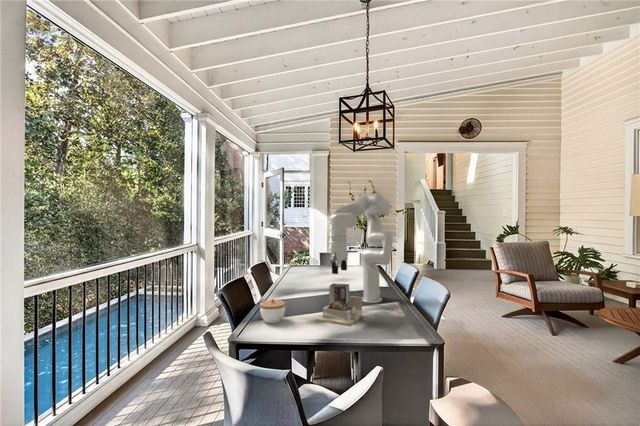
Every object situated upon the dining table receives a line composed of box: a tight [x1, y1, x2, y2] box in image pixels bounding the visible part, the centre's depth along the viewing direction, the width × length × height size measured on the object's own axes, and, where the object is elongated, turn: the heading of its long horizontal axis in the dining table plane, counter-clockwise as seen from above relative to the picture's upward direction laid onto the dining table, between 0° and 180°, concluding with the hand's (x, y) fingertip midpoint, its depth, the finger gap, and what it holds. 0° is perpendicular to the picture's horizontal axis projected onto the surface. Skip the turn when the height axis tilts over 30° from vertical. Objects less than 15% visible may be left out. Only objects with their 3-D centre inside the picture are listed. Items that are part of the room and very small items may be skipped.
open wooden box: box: [315, 295, 363, 327], centre depth 184 cm, size 16×18×10 cm
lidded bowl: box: [259, 298, 286, 324], centre depth 180 cm, size 13×13×11 cm
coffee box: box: [328, 283, 350, 312], centre depth 184 cm, size 9×6×16 cm
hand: (339, 271), depth 184 cm, fingers open, 9 cm apart
